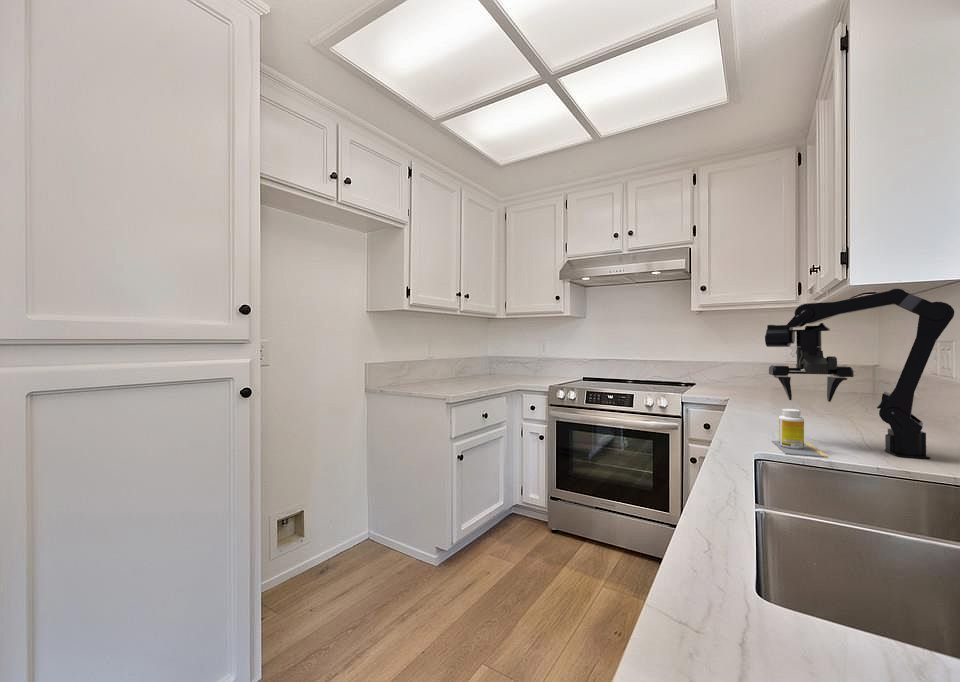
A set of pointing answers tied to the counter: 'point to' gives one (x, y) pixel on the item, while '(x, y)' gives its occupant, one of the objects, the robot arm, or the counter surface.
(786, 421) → the supplement bottle
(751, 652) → the counter surface
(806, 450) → the mat
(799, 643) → the counter surface
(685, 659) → the counter surface
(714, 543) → the counter surface
